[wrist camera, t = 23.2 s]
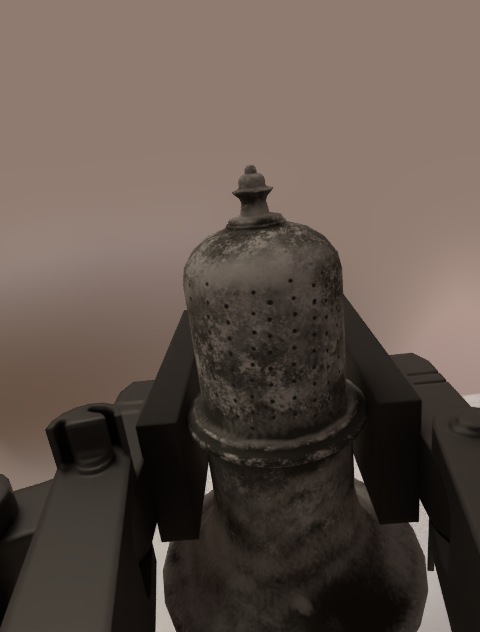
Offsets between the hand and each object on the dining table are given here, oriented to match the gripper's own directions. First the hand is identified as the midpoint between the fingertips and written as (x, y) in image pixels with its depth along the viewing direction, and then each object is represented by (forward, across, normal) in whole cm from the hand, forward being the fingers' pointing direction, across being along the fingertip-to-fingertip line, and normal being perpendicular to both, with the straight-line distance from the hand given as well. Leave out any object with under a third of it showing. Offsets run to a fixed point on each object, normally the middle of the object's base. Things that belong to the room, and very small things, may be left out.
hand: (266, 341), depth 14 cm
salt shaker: (-5, 0, -7) cm, 9 cm away
